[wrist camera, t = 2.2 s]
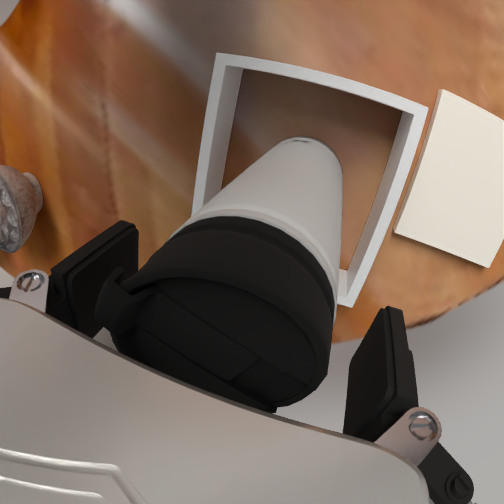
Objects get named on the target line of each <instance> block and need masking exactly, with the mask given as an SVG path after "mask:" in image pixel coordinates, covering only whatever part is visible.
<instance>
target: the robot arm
mask: <svg viewBox="0 0 504 504" xmlns="http://www.w3.org/2000/svg"><path fill="white" fill-rule="evenodd" d="M138 238H139V232H138V230H137V229H136V226H135V225H134V224H132V223H129V222H126V221H123V220H121V221H119V222H117V223H116V224H114V225H113V226H111V227H110V228H108V229H107V230H105V231H104V232H102V233H101V234H99V235H98V236H96V237H95V238H93V239H92V240H91V241H89V242H88V243H86V244H85V245H83V246H82V247H81V248H79V249H78V250H76V251H75V252H73V253H72V254H71V255H69V256H68V257H67V258H65V259H64V260H62V261H61V262H60V263H58V264H57V265H56V266H54V267H53V268H52V269H51V273H52V274H51V275H50V276H49V277H48V275H47V274H46V273H45V272H43V271H41V270H28V271H25V272H22V273H21V274H19V275H18V276H17V277H16V278H15V280H14V282H13V285H12V287H6V288H0V504H472V502H471V499H472V497H473V492H474V487H473V482H472V480H471V478H470V476H469V475H468V474H467V473H466V472H465V470H464V469H463V468H462V467H461V466H460V465H459V464H458V463H457V462H456V461H455V460H454V458H452V456H451V455H450V454H449V453H448V452H447V451H446V450H445V449H444V448H443V446H442V445H441V444H440V443H439V442H438V441H439V439H440V437H441V432H442V428H441V424H440V422H439V420H438V418H437V417H436V415H435V414H434V413H432V412H431V411H430V410H428V409H425V408H423V407H419V405H418V395H417V386H416V378H415V369H414V361H413V355H412V351H410V350H409V348H408V343H407V335H406V329H405V322H404V317H403V312H402V310H400V309H397V308H394V307H390V306H387V307H386V308H385V309H383V308H381V309H380V310H379V312H378V313H377V315H376V317H375V319H374V321H373V323H372V324H371V326H370V328H369V330H368V332H367V333H366V335H365V337H364V339H363V340H362V342H361V344H360V346H359V347H358V349H357V351H356V352H355V354H354V356H353V357H352V359H351V362H350V365H349V376H348V388H347V399H346V410H345V418H344V428H343V434H342V433H339V432H334V431H331V430H327V429H323V428H319V427H315V426H312V425H308V424H305V423H301V422H298V421H295V420H291V419H288V418H284V417H281V416H278V415H274V414H271V413H268V412H265V411H262V410H259V409H256V408H253V407H250V406H247V405H244V404H241V403H238V402H235V401H232V400H230V399H227V398H224V397H221V396H219V395H216V394H213V393H211V392H208V391H205V390H203V389H200V388H198V387H195V386H193V385H190V384H188V383H185V382H183V381H181V380H178V379H176V378H174V377H171V376H169V375H167V374H164V373H162V372H160V371H157V370H155V369H153V368H151V367H149V366H146V365H144V364H142V363H140V362H138V361H136V360H134V359H132V358H129V357H127V356H125V355H123V354H121V353H119V352H117V351H115V350H113V349H111V348H109V347H107V346H105V345H103V344H101V343H99V342H97V341H96V340H94V339H93V337H94V336H95V335H96V334H97V333H98V332H99V331H100V330H101V329H102V328H103V326H102V325H101V324H100V323H99V322H97V321H96V320H95V318H94V314H95V308H96V303H97V300H98V297H99V294H100V291H101V289H102V287H103V284H104V282H105V281H106V280H107V278H108V277H109V276H110V275H111V274H112V272H113V271H114V270H116V269H117V268H118V267H119V266H121V267H123V268H124V269H125V271H124V273H123V275H122V277H121V280H120V282H119V284H120V283H121V282H122V281H124V280H126V279H128V278H129V277H131V276H133V275H134V274H136V273H137V272H138ZM119 284H118V285H119ZM474 504H477V503H474Z"/></svg>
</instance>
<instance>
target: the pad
mask: <svg viewBox="0 0 504 504" xmlns="http://www.w3.org/2000/svg"><path fill="white" fill-rule="evenodd" d="M393 229H394V232H395V233H397V234H400V235H403V236H406V237H408V238H411V239H414V240H417V241H419V242H422V243H425V244H428V245H430V246H433V247H436V248H438V249H441V250H444V251H446V252H449V253H451V254H454V255H457V256H459V257H462V258H464V259H467V260H469V261H472V262H474V263H477V264H479V265H482V266H484V267H487V268H489V266H490V264H491V263H492V261H493V259H494V257H495V255H496V253H497V251H498V249H499V247H500V245H501V243H502V241H503V239H504V121H503V120H501V119H500V118H498V117H496V116H495V115H493V114H491V113H489V112H487V111H486V110H484V109H482V108H480V107H478V106H476V105H474V104H472V103H471V102H469V101H467V100H465V99H463V98H461V97H459V96H456V95H454V94H452V93H450V92H448V91H446V90H444V89H439V91H438V95H437V99H436V102H435V106H434V110H433V113H432V117H431V120H430V124H429V127H428V130H427V134H426V137H425V140H424V143H423V146H422V150H421V153H420V156H419V159H418V162H417V165H416V168H415V170H414V173H413V176H412V179H411V182H410V185H409V187H408V190H407V193H406V195H405V198H404V201H403V203H402V206H401V209H400V211H399V214H398V216H397V219H396V221H395V224H394V226H393Z"/></svg>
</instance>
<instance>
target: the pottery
mask: <svg viewBox="0 0 504 504" xmlns="http://www.w3.org/2000/svg"><path fill="white" fill-rule="evenodd" d="M42 204H43V195H42V190H41V186H40V184H39V182H38V180H37V179H36V178H35V176H34V175H32V174H30V173H23V174H22V173H21V172H19V171H18V170H16V169H14V168H12V167H9V166H5V165H0V249H2V250H3V251H5V252H9V253H14V252H16V251H17V250H18V249H20V248H21V247H22V245H23V244H24V243H25V242H26V241H27V239H28V238H29V236H30V234H31V232H32V230H33V227H34V224H35V220H36V215H37V213H38V212H39V211H40V210H41V208H42Z"/></svg>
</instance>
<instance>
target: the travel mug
mask: <svg viewBox="0 0 504 504" xmlns="http://www.w3.org/2000/svg"><path fill="white" fill-rule="evenodd" d="M341 226H342V168H341V164H340V162H339V159H338V157H337V156H336V154H335V153H334V151H333V150H332V149H331V148H330V147H329V146H328V145H326V144H325V143H323V142H322V141H320V140H318V139H315V138H312V137H307V136H295V137H290V138H287V139H285V140H283V141H281V142H280V143H278V144H277V145H275V146H274V147H273V148H272V149H270V150H269V151H268V152H267V153H265V154H264V155H263V156H262V157H261V158H259V159H258V160H257V161H256V162H255V163H253V164H252V165H251V166H250V167H248V168H247V169H246V170H245V171H244V172H242V173H241V174H240V175H239V176H238V177H237V178H235V179H234V180H233V181H232V182H231V183H229V184H228V185H227V186H226V187H225V188H224V189H222V190H221V191H220V192H219V193H218V194H217V195H216V196H214V197H213V198H212V199H211V200H210V201H209V202H208V203H206V204H205V205H204V206H203V207H202V208H201V209H200V210H198V211H197V212H196V213H195V214H194V215H193V216H192V217H191V218H189V219H188V220H187V221H186V222H185V223H184V224H183V225H182V226H181V227H180V228H179V229H177V230H176V231H175V232H174V233H173V234H172V235H171V236H170V238H169V239H168V240H167V242H166V243H165V244H164V245H163V247H161V248H160V249H159V250H157V251H156V252H155V253H154V254H153V255H152V256H151V257H150V259H149V260H148V262H147V263H146V264H145V265H144V266H143V267H142V268H141V269H140V270H139V271H138V272H137V273H136V274H134V275H133V276H131V277H129V278H128V279H126V280H124V281H122V282H121V283H120V284H119V282H120V280H121V277H122V275H123V273H124V271H125V269H124V268H123V267H121V266H119V267H118V268H117V269H116V270H114V271H113V272H112V274H111V275H110V276H109V277H108V278H107V280H106V281H105V282H104V284H103V287H102V289H101V291H100V294H99V297H98V300H97V303H96V308H95V314H94V318H95V320H96V321H97V322H99V323H100V324H101V325H102V326H103V327H105V328H106V329H107V330H108V331H110V334H111V337H112V340H113V343H114V344H115V346H116V348H117V350H118V352H119V353H121V354H123V355H125V356H127V357H129V358H132V359H134V360H136V361H138V362H140V363H142V364H144V365H146V366H149V367H151V368H153V369H155V370H157V371H160V372H162V373H164V374H167V375H169V376H171V377H174V378H176V379H178V380H181V381H183V382H185V383H188V384H190V385H193V386H195V387H198V388H200V389H203V390H205V391H208V392H211V393H213V394H216V395H219V396H221V397H224V398H227V399H230V400H232V401H235V402H238V403H241V404H244V405H247V406H250V407H253V408H256V409H259V410H262V411H265V412H268V413H271V414H272V413H276V410H277V407H284V406H289V405H291V404H293V403H296V402H298V401H300V400H302V399H304V398H305V397H306V396H308V395H309V394H311V393H312V392H313V391H315V390H316V389H317V388H318V386H319V385H320V384H321V382H322V381H323V380H324V378H325V377H326V375H327V372H328V364H329V357H330V349H331V341H332V331H333V325H334V322H335V319H336V309H337V297H338V283H339V268H340V250H341ZM118 284H119V285H118Z"/></svg>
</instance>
